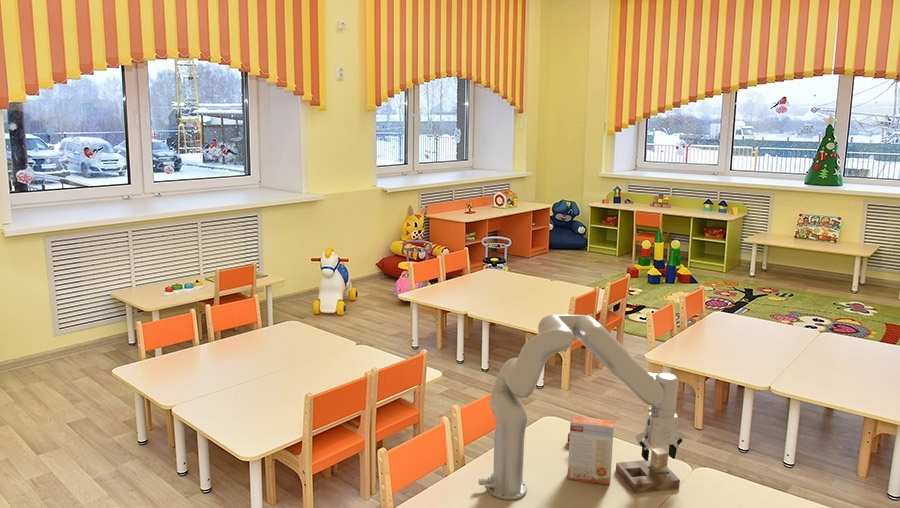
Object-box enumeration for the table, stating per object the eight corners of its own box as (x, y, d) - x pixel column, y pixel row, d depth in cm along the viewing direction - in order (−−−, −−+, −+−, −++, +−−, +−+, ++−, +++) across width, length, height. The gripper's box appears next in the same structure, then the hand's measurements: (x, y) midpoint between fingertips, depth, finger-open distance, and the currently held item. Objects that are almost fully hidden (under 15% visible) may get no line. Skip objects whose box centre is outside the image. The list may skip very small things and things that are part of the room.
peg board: (634, 492, 229) (634, 484, 228) (615, 470, 242) (616, 462, 241) (679, 488, 232) (679, 479, 231) (658, 466, 245) (659, 458, 245)
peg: (654, 482, 235) (657, 454, 233) (649, 475, 239) (651, 448, 237) (666, 480, 236) (668, 453, 234) (660, 474, 240) (662, 447, 238)
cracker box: (610, 477, 238) (614, 419, 234) (609, 486, 232) (613, 427, 228) (568, 470, 242) (572, 414, 237) (566, 479, 236) (570, 421, 231)
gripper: (644, 417, 227) (639, 465, 231) (693, 413, 231) (687, 461, 234) (633, 407, 234) (629, 454, 238) (681, 404, 238) (676, 450, 241)
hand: (658, 457), depth 236 cm, fingers open, 9 cm apart
